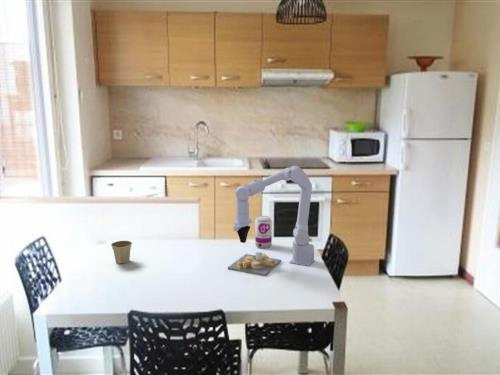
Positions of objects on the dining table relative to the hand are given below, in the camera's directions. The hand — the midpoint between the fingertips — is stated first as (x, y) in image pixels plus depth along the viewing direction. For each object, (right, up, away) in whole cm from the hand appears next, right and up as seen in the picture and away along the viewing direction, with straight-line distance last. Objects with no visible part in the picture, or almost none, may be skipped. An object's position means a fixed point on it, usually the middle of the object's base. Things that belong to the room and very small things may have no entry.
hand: (243, 242), depth 196 cm
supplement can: (+10, -5, +23) cm, 26 cm away
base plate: (+5, -10, -2) cm, 12 cm away
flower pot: (-56, -10, +5) cm, 57 cm away
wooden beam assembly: (+5, -10, -4) cm, 11 cm away
